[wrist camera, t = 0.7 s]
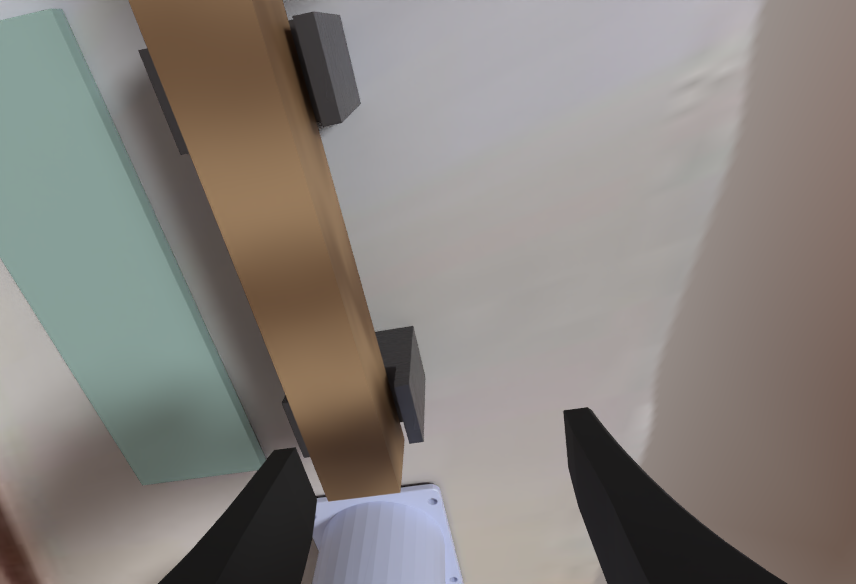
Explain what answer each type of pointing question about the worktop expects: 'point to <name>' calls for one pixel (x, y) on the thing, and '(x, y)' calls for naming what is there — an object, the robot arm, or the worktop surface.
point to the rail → (281, 226)
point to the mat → (106, 266)
